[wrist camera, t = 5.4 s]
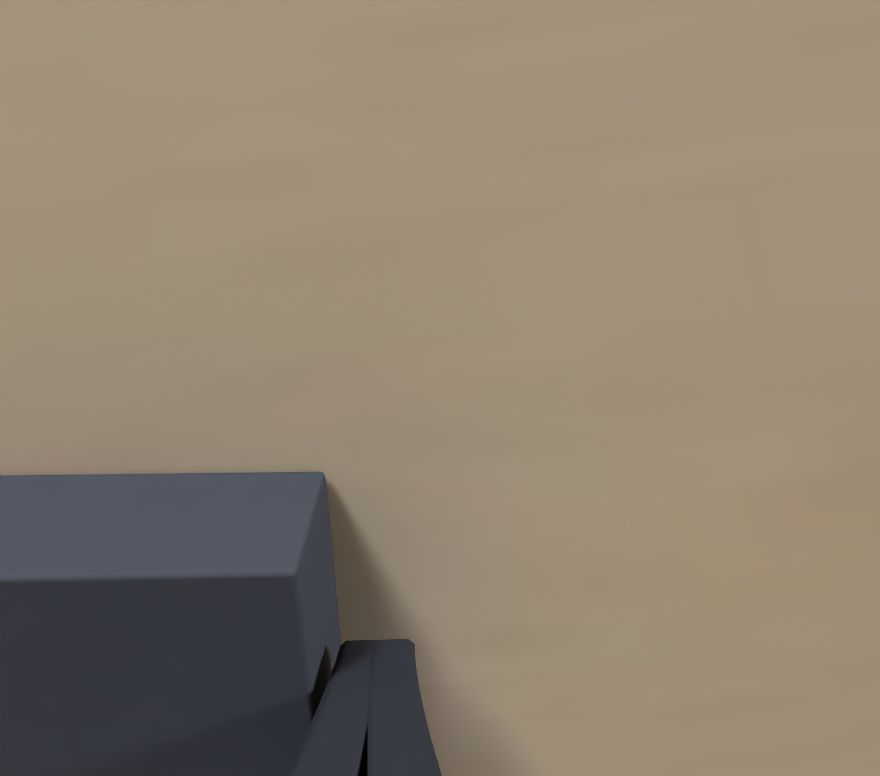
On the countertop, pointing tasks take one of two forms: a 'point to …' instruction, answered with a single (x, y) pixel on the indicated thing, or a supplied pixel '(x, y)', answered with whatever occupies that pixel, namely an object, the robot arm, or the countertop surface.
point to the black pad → (163, 622)
